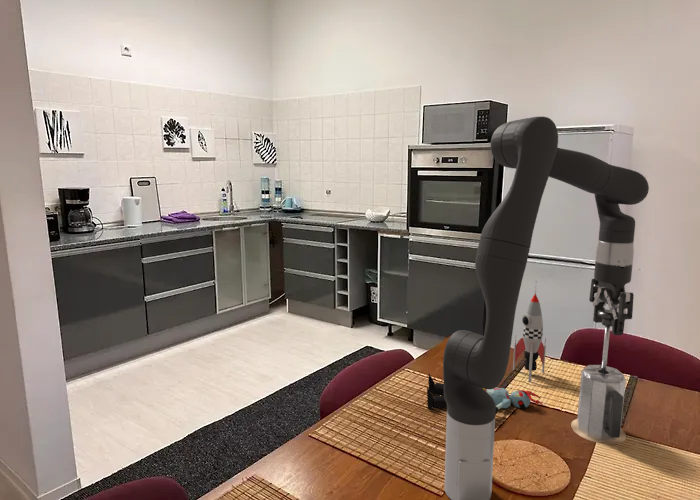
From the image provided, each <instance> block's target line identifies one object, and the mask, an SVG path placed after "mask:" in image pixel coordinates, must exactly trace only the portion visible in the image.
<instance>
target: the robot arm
mask: <svg viewBox="0 0 700 500" xmlns="http://www.w3.org/2000/svg"><path fill="white" fill-rule="evenodd" d="M558 144H559V131H558V128H557V125H556V124H555V122H554V121H553V120H552V119H551V118H549V117H547V116H532V117H527V118H521V119H516V120H511V121H508V122H505V123H503V124H501V125H500V126H498V127H497V128H496V129H495V130H494V132H493V133H492V136H491V139H490V151H491V154H492V157H493V159H494V160H495V161H496V162H497V163H498V164H499V165H500V166H502V167H505V168H509V169H515V172H514V176H513V178H512V179H513V180H512V183H511V186H510V187H509V190H508V191H507V193H506V195H505V196H504V198H503V200H502V201H501V202H500V203H499V205H498V206H497V207H496V208H495V210H494V211H493V213H491V215H490V217H489V218H488V220H487V221H486V223H485V224H484V227H483V228H482V231H481V234H480V238H479V242H478V246H477V247H478V248H477V251H476V255H475V260H474V262H475V265H474V266H475V267H474V268H475V272H476V276H477V280H478V282H479V283H478V284H479V286H480V289H481V292H482V295H483V300H484V303H485V310H486V311H485V312H486V316H485V317H486V319H485V327H484V332H483V335H482V334H479V333H477V332H473V331H470V330H465V329H460V330H456V331H455V332H453V333H452V334H451V335H450V337H449V338H448V339H447V341H446V344H445V348H444V351H443V357H442V360H443V361H442V372H443V374H442V375H443V378H442V379H443V384H444V398H445V401H446V403H447V408H446V428H445V456H444V457H445V458H444V492H445V495H446V496H447V498H449V499H450V500H491V498H492V491H493V490H492V489H493V470H494V469H493V468H494V467H493V466H494V448H495V429H496V427H495V426H496V415H497V414H496V405H495V401H494V400H493V398H492V397H491V396H490V395H489V394H488V393H487V392H486V391H485V390H484V389H488V390H491V389H494V388H496V387H497V388H498V386H500V384H501V382H502V381H503V379H504V378H505V374H506V372H507V368H508V364H509V361H510V353H511V345H512V341H513V340H512V338H513V332H514V331H513V330H514V323H515V318H516V317H515V316H516V310H517V306H518V305H517V304H518V302H519V296H520V293H521V292H520V291H521V286H522V283H523V278H524V274H525V270H526V267H527V263H528V258H529V254H530V250H531V249H530V248H531V243H532V238H533V233H534V230H535V225H536V221H537V217H538V213H539V209H540V205H541V202H542V198H543V194H544V192H545V189H546V186H547V182H548V180H549V178H552V179H554V180H558V181H560V182H563V183H565V184H568V185H570V186H572V187H575V188H576V189H580V190H582V191H584V192H587V193H590V194H593V195H594V200H595V205H596V209H597V210H596V211H597V214H598V215H597V216H598V221H599V231H598V232H599V233H598V239H597V240H598V242H597V246H596V250H595V251H596V252H595V260H594V261H595V262H594V273H593V278H591V282H590V283H591V284H590V291H589V299H588V300H589V302H590V303H592V306H593V307H594V309H593V319H592V320H593V322H594V323H596V324H597V323H600V324H602V318H601V317H599V316H598V310H601V309H606V305H608V310H612V313H613V317H614V319H613V326H611V328H612V329H611V334H613V336H623V335H624V330H625V321H626V320H632V319H633V313H634V312H633V311H634V296H635V295H634V292H627V291H625V290H626V289H625V285H626V284H629V283H631V281H632V273H633V263H634V254H635V249H634V242H635V241H634V240H635V233H636V232H635V231H636V220H635V218H634V217H633V216H631V215H629V214H627V213H624V212H622V210H621V208H620V205H627V206H632V205H638V204H639V203H641V202H643V201H644V200H645V199H646V198H647V196H648V193H649V189H650V186H649V182H648V180H647V178H646V177H645V176H644V175H643V174H641V172H638V171H636V170H633V169H629V168H626V167H622V166H618V165H617V166H616V165H612V164H609V163H607V162H606V161H604V160H602V159H599V158H598V157H595V156H594V155H591V154H588V153H586V152H585V153H584V152H580V151H576V150H572V149H566V148H560V147H559V145H558ZM483 388H484V389H483Z"/></svg>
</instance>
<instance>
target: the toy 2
mask: <svg viewBox="0 0 700 500" xmlns="http://www.w3.org/2000/svg"><path fill="white" fill-rule="evenodd" d="M535 283H537V280H535ZM534 287H535V289H534V290H535V291H534V295H533V296H532V298H531V300H530V301H529V304H528V306H527V310H526V314H524V315H523V316H522V319H521V321H522V324H523V328H522V337H521V338H520V339H519V340H518V341H517V335H515V336H514V337H515V338H514V339H515V340H514V344H513V345H514V346H513V363H512V371H515V370H516V362H517V360H518V359H519V357H520V356H521V354H522V353H523V352H524V353H523V355H524V358H525V361H524V363H523V364H524V365H523V367H524V369H525V370H527V371H528V382H532V373H533V372H534V371H536V370H537V360H538V359H540V362H541V365H542V366H541V367H542V368H541V373H542V374H545V366H546V365H545V361H546V348H547V345H546V341H547V339H546V338H547V337H544V343H543V335H544V334H543V333H544V332H543V330H544V324H543V323H544V322H543V315H542V309H541V303H540V300H539V298H538V297H537V286H534Z"/></svg>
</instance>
